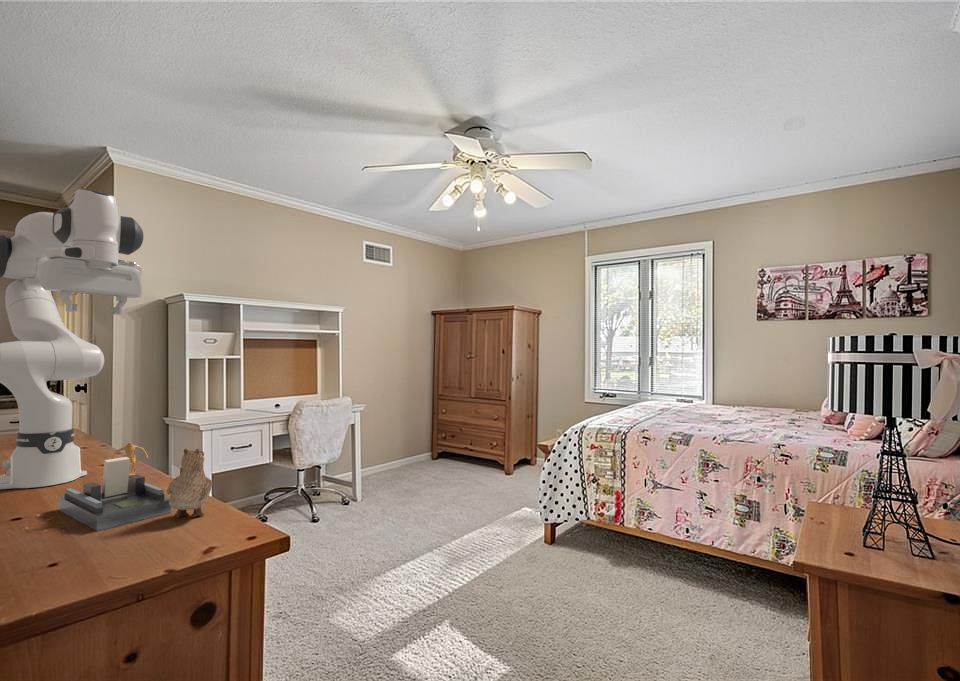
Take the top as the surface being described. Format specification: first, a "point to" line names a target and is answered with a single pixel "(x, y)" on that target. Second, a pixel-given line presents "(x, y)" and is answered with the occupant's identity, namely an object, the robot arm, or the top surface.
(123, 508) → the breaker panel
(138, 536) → the top surface
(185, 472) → the figurine
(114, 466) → the lever
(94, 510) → the pair of grey bars
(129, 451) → the figurine
